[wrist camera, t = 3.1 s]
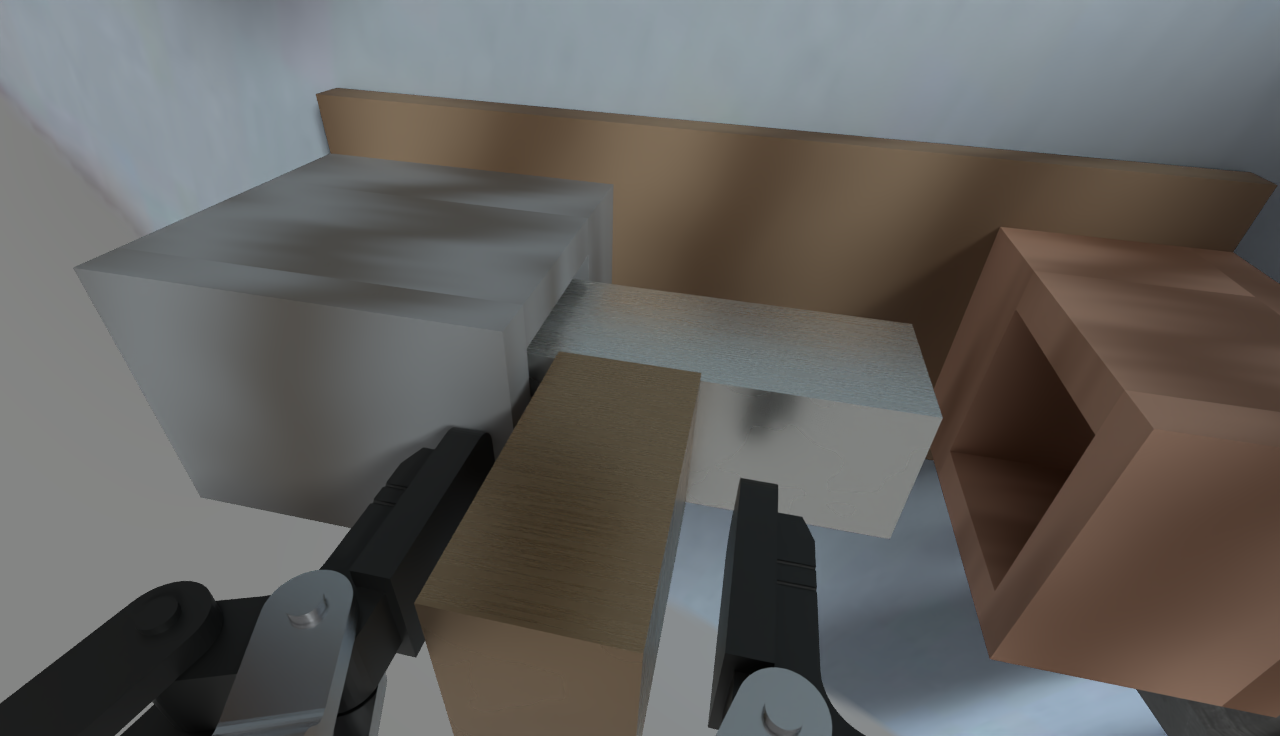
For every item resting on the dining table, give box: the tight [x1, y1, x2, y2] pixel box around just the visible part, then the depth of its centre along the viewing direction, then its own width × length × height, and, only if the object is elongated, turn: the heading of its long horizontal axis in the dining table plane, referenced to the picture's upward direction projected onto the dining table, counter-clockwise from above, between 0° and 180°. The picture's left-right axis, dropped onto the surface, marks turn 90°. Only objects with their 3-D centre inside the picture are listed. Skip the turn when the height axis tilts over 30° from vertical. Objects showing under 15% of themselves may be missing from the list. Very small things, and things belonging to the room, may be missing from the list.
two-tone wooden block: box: [414, 279, 943, 736], centre depth 13 cm, size 17×4×10 cm, turn 88°
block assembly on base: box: [73, 88, 1280, 718], centre depth 16 cm, size 25×10×9 cm, turn 88°
